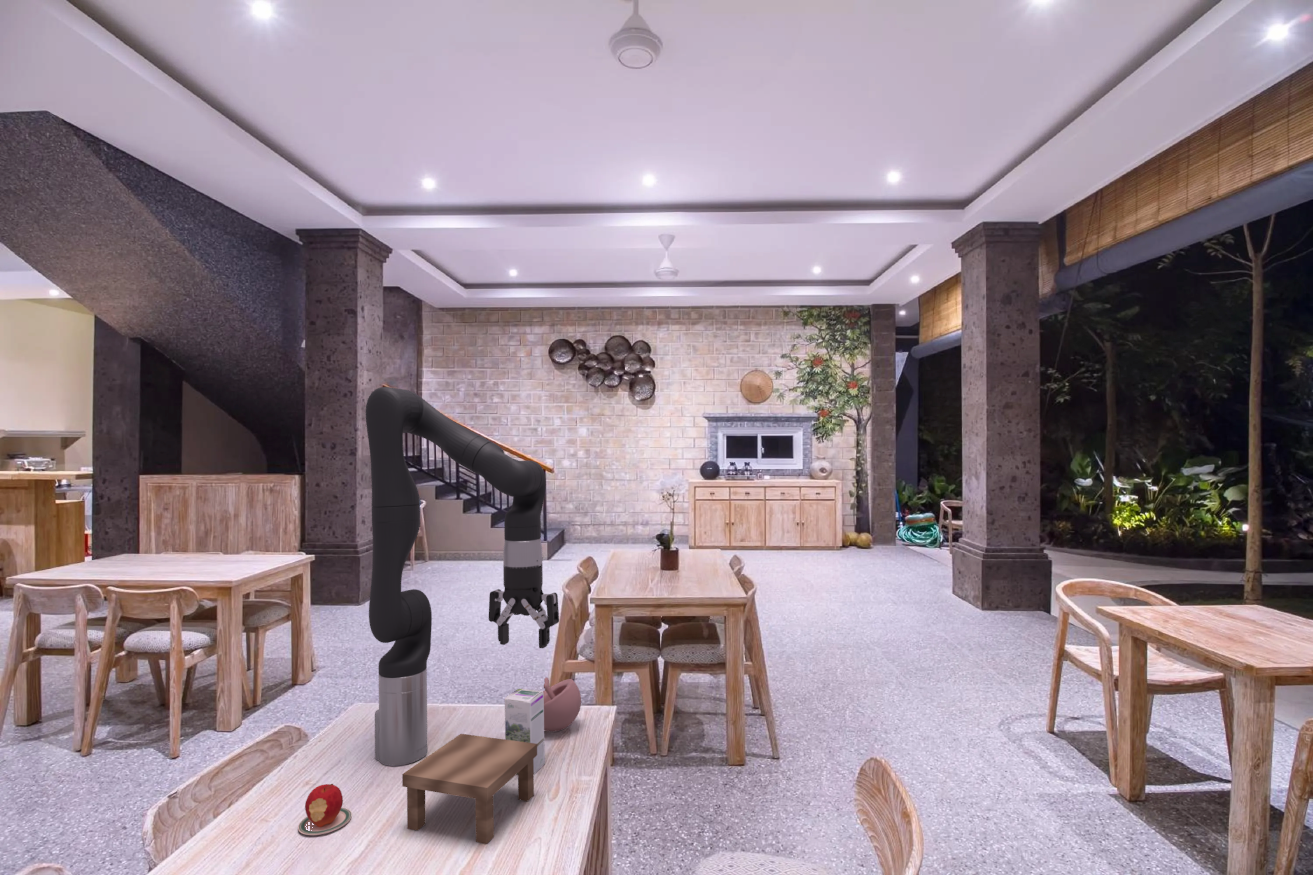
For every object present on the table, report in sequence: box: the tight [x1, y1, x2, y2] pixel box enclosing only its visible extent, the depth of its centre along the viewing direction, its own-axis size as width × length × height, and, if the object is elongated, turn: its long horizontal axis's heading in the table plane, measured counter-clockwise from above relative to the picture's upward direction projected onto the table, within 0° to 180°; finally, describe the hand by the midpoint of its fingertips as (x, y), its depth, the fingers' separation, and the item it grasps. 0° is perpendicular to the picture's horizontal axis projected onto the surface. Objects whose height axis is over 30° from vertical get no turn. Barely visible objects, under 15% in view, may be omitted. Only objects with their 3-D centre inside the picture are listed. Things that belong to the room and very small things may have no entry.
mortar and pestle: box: [542, 677, 582, 733], centre depth 143 cm, size 12×12×11 cm
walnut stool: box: [401, 733, 537, 845], centre depth 110 cm, size 16×16×9 cm
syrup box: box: [504, 688, 546, 775], centre depth 125 cm, size 6×6×14 cm
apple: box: [297, 783, 353, 836], centre depth 108 cm, size 8×8×6 cm
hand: (523, 645), depth 126 cm, fingers open, 8 cm apart
